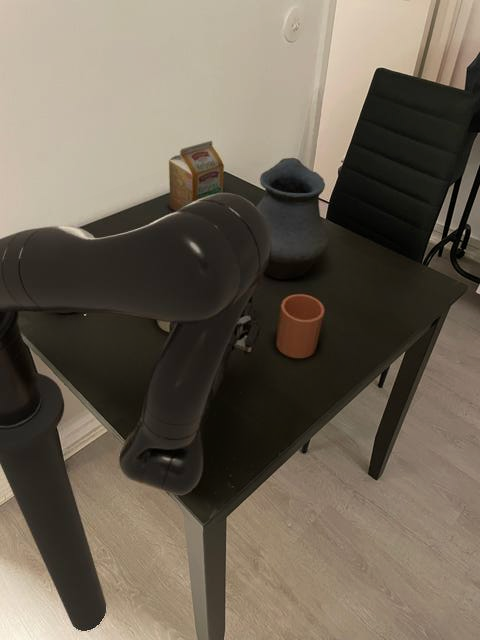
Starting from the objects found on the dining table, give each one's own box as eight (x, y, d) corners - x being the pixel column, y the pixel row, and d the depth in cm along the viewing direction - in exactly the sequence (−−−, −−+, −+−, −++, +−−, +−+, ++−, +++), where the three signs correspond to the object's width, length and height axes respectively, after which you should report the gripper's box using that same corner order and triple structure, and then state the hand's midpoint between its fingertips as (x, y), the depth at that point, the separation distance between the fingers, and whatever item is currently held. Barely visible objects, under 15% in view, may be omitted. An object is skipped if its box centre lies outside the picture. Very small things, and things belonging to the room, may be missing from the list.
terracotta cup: (290, 363, 101) (297, 326, 94) (268, 337, 106) (273, 301, 100) (324, 350, 104) (332, 314, 98) (301, 326, 110) (307, 289, 103)
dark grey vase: (241, 291, 118) (249, 193, 101) (238, 241, 134) (244, 149, 117) (328, 294, 119) (349, 197, 102) (314, 243, 135) (331, 153, 119)
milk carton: (192, 222, 139) (192, 156, 127) (170, 207, 145) (168, 142, 133) (221, 211, 145) (224, 147, 132) (199, 197, 151) (200, 134, 138)
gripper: (247, 360, 72) (267, 292, 84) (153, 339, 74) (186, 276, 86) (243, 393, 77) (263, 325, 89) (155, 374, 79) (186, 309, 91)
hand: (225, 301), depth 88 cm, fingers open, 8 cm apart
